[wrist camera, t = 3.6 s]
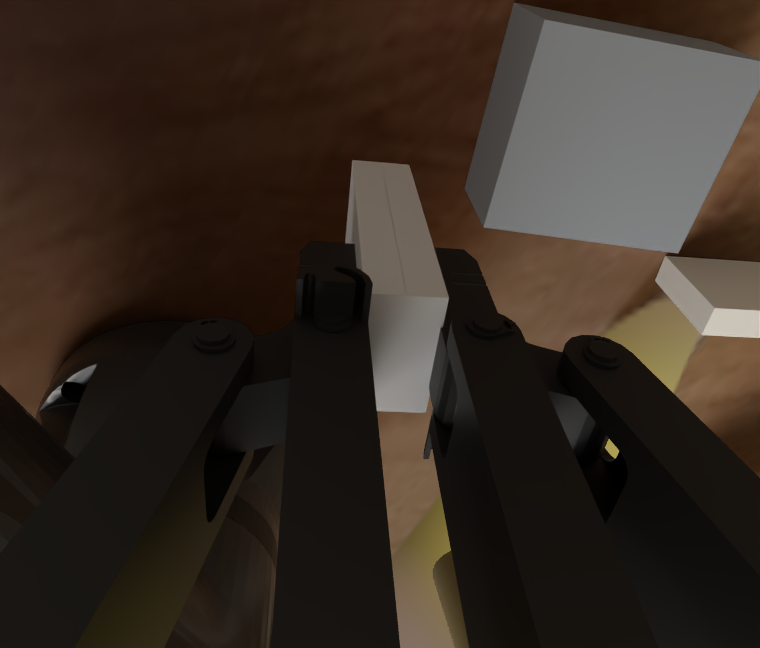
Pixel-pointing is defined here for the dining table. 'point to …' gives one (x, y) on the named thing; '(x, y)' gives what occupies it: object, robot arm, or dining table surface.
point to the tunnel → (714, 294)
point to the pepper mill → (450, 599)
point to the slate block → (605, 129)
